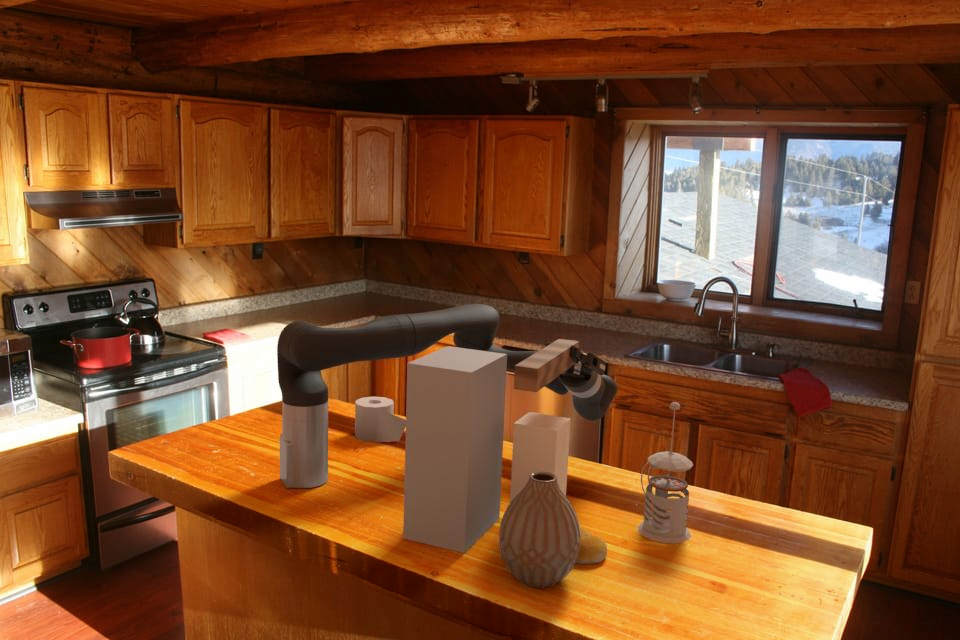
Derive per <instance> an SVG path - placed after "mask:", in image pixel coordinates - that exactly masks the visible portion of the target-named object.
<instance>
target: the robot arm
mask: <svg viewBox="0 0 960 640" xmlns="http://www.w3.org/2000/svg"><path fill="white" fill-rule="evenodd" d="M500 320H501V319H500V314H499V312H498V310H496V309H495V308H494V307H492V306H491V305H487V304H483V303H467V304H463V305H457V306H454V307H448V308H444V309H439V310H433V311H427V312H426V311H425V312H417V313H401V314H394V315H393V314H391V315H385V316H380V317H377V318H375V319H371V320H369V321H367V322H365V323H363V324H360V325H357V326H352V327H322V326H320V325H317V324H314V323H312V322H309V321H306V320H295V321H291V322H290V323H288V324H287V325H285V326H284V328H282V330H281V332H280V334H279V336H278V339H277V347H276V350H277V352H276V355H277V357H276V358H277V375H278V376H277V377H278V386H279V388H280V391H281V392H280V393H281V402H282V404H281V405H282V409H281V411H282V412H281V413H282V417H281V418H282V421H281V422H282V423H281V424H282V428H281V429H282V430H281V431H282V433H280V435H279V479H280V480H281V482H282V483H283V485H284V486H285V488H287V489H290V488H296V489H311V488H317V487H319V486H322V485H324V484H326V483H328V481H329V387H328V385H327V384H326V382H325V380H324V378H323V374H322V371H324V370H327V369H332V368H336V367H339V366H343V365H347V364H351V363H357V362H367V361H368V362H369V361H380V360H388V359H389V360H390V359H398V358H406V357H411V356H415V355H418V354H420V353H422V352H424V351H426V350H428V349H429V348H430V347H432V346H434V345H435V344H436V343H438V342H439V341H441V340H443V339H444V338H446V337H447V336H449V335H451V334H453V336H452V337H453V338H452V339H453V340H452V341H453V344H454V345H455V347H458V348H465V349H473V350H480V351H488V352H495V353H503V354H507V369H506V370H508V371H511V372H514V371H515V365H517V364H518V363H520V362H522V361H523V360H525V359H526V358H528V357H530V356H531V355H533V354H535V353H536V352H538V351H539V350H527V351H526V350H525V351H524V350H523V351H521V350H520V351H519V350H518V351H517V350H516V351H515V350H509V349H505V348H503V347H500V346H499V345H496V344H495V343H494V340H495V337H496V335H497V332H498V330H499V326H500ZM551 343H552V342H551V341H550V342H549V341H547V343H545V344H544V346H542V347H541V348H540V350H541V349H543V348H545V347H546V346H548V345H550V344H551ZM570 357H571V359H572V360H573V361H574V362H575V364H574V365H573V366H571V367H570V368H569V369H567V370H566V371H565V372H563V373H562V374H561V375H559V376H558V377H557V378H555V379H554V380H553V381H551V382H550V383H549V384H547V385H546V386H545V388H546V389H548V390H550V391H551V392H554V393H555V394H557V395H561V396H564V395H566V394H567V393H571V394H572V395H571V396H572V397H571V398H572V405H573V408H574V409H575V411H576V412H577V414H578V415H579V416H581V418H583V419H585V420H587V421H589V422H596V421H600V420H601V419H602V418H603V417H604V416H605V414H606V412H607V411H608V409H609V407H610V405H611V404H612V402H613V400H614V399H615V397H616V395H617V393H618V390H619V389H618V387H619V386H618V384H617V383H616V381H615V380H614V379H613V378H612V377H611V376H609V375H607V374H605V370H606V364H607V362H606V361H605V360H603V359H601V358H600V357H598V356H597V355H596V354H594V353H592V352H587V353H586V352H584V351H583V350H581V349H580V348H577V347H576V345H571V350H570Z"/></svg>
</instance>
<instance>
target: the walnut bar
mask: <svg viewBox="0 0 960 640" xmlns="http://www.w3.org/2000/svg"><path fill="white" fill-rule="evenodd" d="M571 345H576V347H577V348H579V347H580V341H579V340H573V339H565V338H564V339H563V338H558V339H557V340H554V341H553V342H551V344H550V345H548V346H546V347H545V346H544V347H545V348H543V349H541V348H540V350H537V351H538V352H536V353H535V354H533V355H531V356H530V357H528V358H526V359H525V360H523V361H522V362H520V363H518V364H517V365H515V371H514V374H513V375H514V376H513V377H514V378H513V390H518V391H523V392H531V393H538V392H539V391H541V390H542V389H543V388H544V387H545V386H546V385H547V384H549V383H550V382H551V381H553V380H554V379H555V378H557V377H558V376H559V375H561V374H562V373H563V372H565V371H566V370H567V369H569V368H570V367H571V366H573V365H574V364H575V362H574V361H573V360H572V359H571V357H570V350H571ZM579 349H580V348H579ZM545 388H546V387H545Z"/></svg>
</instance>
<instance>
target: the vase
mask: <svg viewBox="0 0 960 640" xmlns="http://www.w3.org/2000/svg"><path fill="white" fill-rule="evenodd" d="M580 528H581V527H580V522H579V518H578V516H577V513H576V511H575V509H574V507H573V505H572V504H571V502H570V500H569V499H568V497H567V495H566V496H565V494H564V493H563V492H562V490H561V489H560V487H559V485H558V482H557V476H556V475H554V474H552V473H549V472H542V471H540V472H533V473H531V474H530V475H529V480H528V482H527V484H526V485H525V487H524V488H523V489H522V490H521V491H520V492H519V493H518V494H517V495H516V496H515V497H514V499H513V500H512V501H511V503H510V502H509V503H508V505H507V507H506V509H505V511H504V513H503V515H502V518H501V522H500V525H499V534H498V546H499V547H498V548H499V551H500V555H501V558H502V561H503V564H504V565H505V567H506V568H507V570H508V571H509V573H510V574H511V575H512V577H514V578H515V579H517V581H519V582H520V583H521V584H523V585H525V586H527V587H529V588H530V587H532V588H535V589H537V588H538V589H541V588H542V589H543V588H549V587H552V586H555V585H557V584H558V583H559V582H560V581H562V580H564V579H565V578H566V577H567V576H568V575H569V573H570V572H571V571H572V570H573V569H574V567H575V565H576V564H577V563H576V561H577V558H578V555H579V551H580V544H581V531H580Z"/></svg>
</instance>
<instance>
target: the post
mask: <svg viewBox="0 0 960 640" xmlns="http://www.w3.org/2000/svg"><path fill="white" fill-rule="evenodd" d="M571 420H572V419H571V418H570V417H565V416H558V415H557V416H556V415H552V414H551V415H550V414H547V413H546V414H545V413H538V412H533V411H529V412H527V413H526V414H525V415H523V416H522V417H520V418H519V419H518V420H516V421H515V422H514V423H513V437H512V453H511V454H512V458H511V477H510V494H509V495H510V497H509V504H510V503H511V501H512V500H513V499H514V497H515V496H516V495H517V494H518V493H519V492H520V491H521V490H522V489H523V488H524V487H525V485H526V484H527V482H528V480H529V475H530V474H531V473H533V472H540V471H542V472H549V473H552V474H554V475H556V476H557V482H558V485H559V487H560V489H561V490H562V492H563V493H564V494H565V496H566V497H567V482H568V466H569V450H570V435H571Z"/></svg>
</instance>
